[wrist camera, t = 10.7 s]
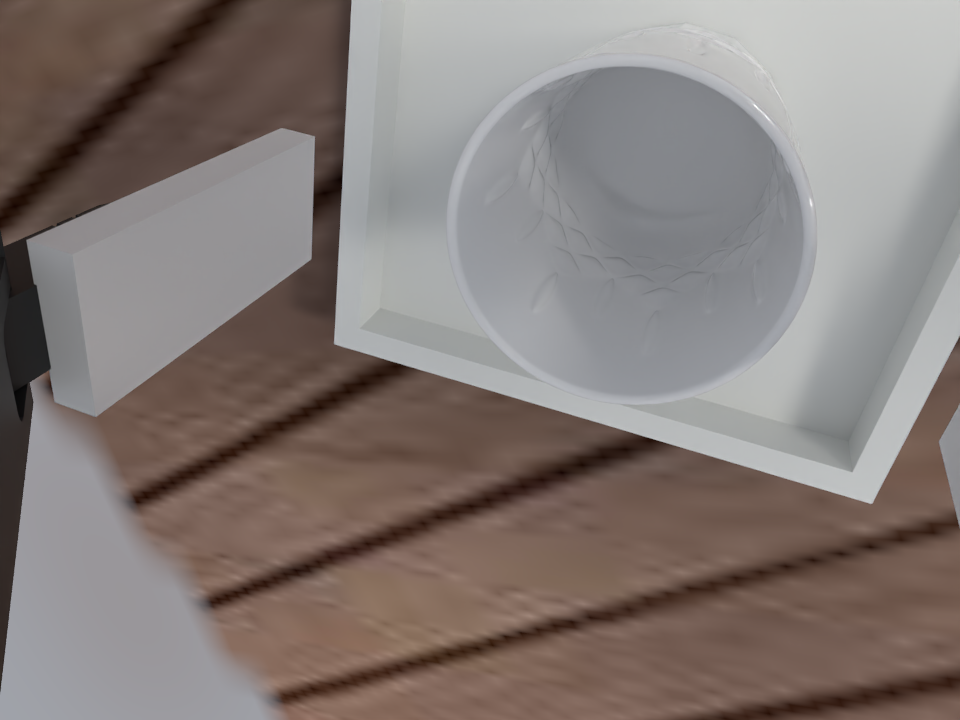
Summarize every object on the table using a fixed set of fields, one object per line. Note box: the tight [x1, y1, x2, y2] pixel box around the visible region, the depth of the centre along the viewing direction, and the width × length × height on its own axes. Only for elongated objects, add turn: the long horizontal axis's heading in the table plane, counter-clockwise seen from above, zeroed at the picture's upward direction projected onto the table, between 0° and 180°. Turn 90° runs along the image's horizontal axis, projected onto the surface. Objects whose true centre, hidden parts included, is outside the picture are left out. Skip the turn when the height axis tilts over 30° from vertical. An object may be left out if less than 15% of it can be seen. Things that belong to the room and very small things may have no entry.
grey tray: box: [334, 0, 960, 504], centre depth 25 cm, size 20×20×2 cm
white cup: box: [446, 22, 817, 405], centre depth 22 cm, size 8×8×10 cm
